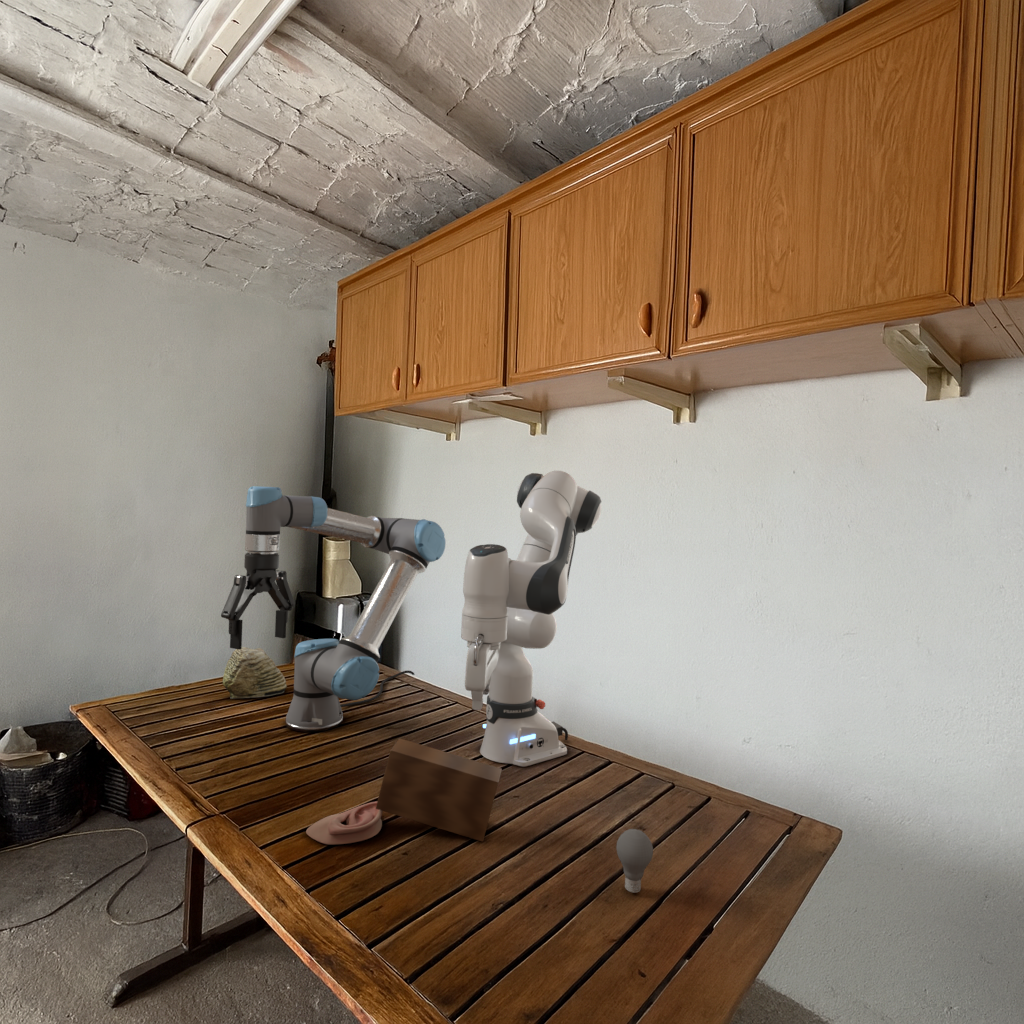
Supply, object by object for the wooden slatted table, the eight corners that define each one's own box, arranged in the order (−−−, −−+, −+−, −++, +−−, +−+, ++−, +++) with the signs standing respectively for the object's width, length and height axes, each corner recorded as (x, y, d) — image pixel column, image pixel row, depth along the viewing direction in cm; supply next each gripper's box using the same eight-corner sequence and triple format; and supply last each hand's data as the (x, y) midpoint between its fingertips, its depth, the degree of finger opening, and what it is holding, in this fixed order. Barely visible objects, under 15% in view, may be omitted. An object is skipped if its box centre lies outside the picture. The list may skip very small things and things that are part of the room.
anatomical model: (298, 818, 116) (328, 791, 128) (297, 839, 116) (327, 810, 128) (365, 829, 114) (390, 800, 125) (364, 851, 114) (389, 820, 125)
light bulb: (610, 879, 108) (613, 822, 108) (644, 879, 109) (647, 822, 109) (619, 902, 102) (622, 840, 102) (655, 901, 103) (658, 840, 103)
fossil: (218, 695, 195) (220, 647, 195) (278, 685, 208) (279, 640, 207) (228, 703, 189) (230, 653, 188) (289, 692, 201) (290, 645, 201)
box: (375, 808, 121) (390, 750, 120) (385, 794, 127) (399, 738, 127) (482, 841, 119) (498, 782, 118) (487, 825, 125) (501, 768, 125)
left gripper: (230, 557, 135) (227, 655, 135) (311, 550, 158) (308, 635, 158) (205, 554, 138) (202, 651, 138) (288, 548, 161) (285, 631, 161)
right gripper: (493, 642, 111) (490, 720, 111) (506, 620, 131) (503, 687, 132) (458, 640, 112) (454, 717, 112) (476, 618, 132) (473, 684, 132)
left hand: (258, 642), depth 148 cm, fingers open, 13 cm apart
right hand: (481, 701), depth 122 cm, fingers open, 8 cm apart
